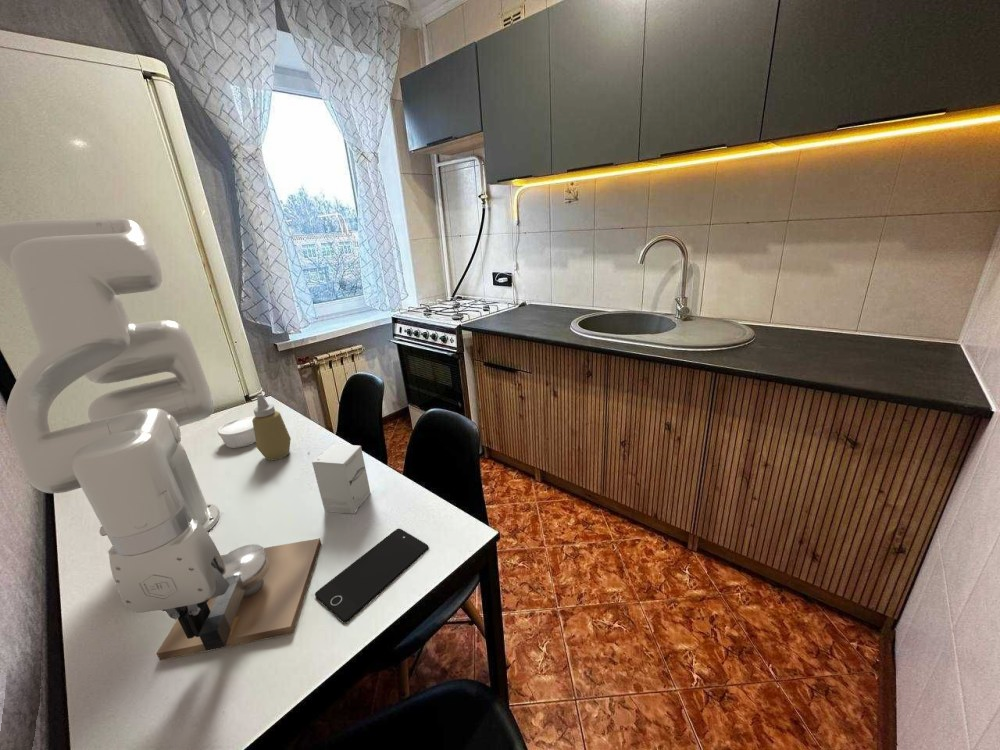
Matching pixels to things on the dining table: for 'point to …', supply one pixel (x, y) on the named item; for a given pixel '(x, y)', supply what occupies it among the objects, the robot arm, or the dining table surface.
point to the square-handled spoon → (233, 592)
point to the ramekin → (238, 432)
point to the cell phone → (370, 574)
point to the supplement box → (341, 478)
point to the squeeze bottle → (270, 431)
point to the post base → (260, 601)
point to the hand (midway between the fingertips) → (200, 627)
